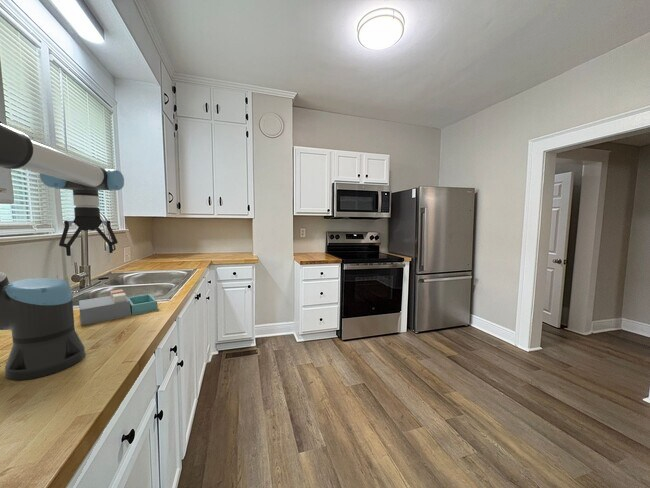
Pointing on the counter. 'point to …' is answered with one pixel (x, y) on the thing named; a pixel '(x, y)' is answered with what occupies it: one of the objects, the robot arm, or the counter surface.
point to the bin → (142, 304)
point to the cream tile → (119, 297)
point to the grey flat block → (102, 309)
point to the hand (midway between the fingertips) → (91, 262)
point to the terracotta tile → (116, 292)
